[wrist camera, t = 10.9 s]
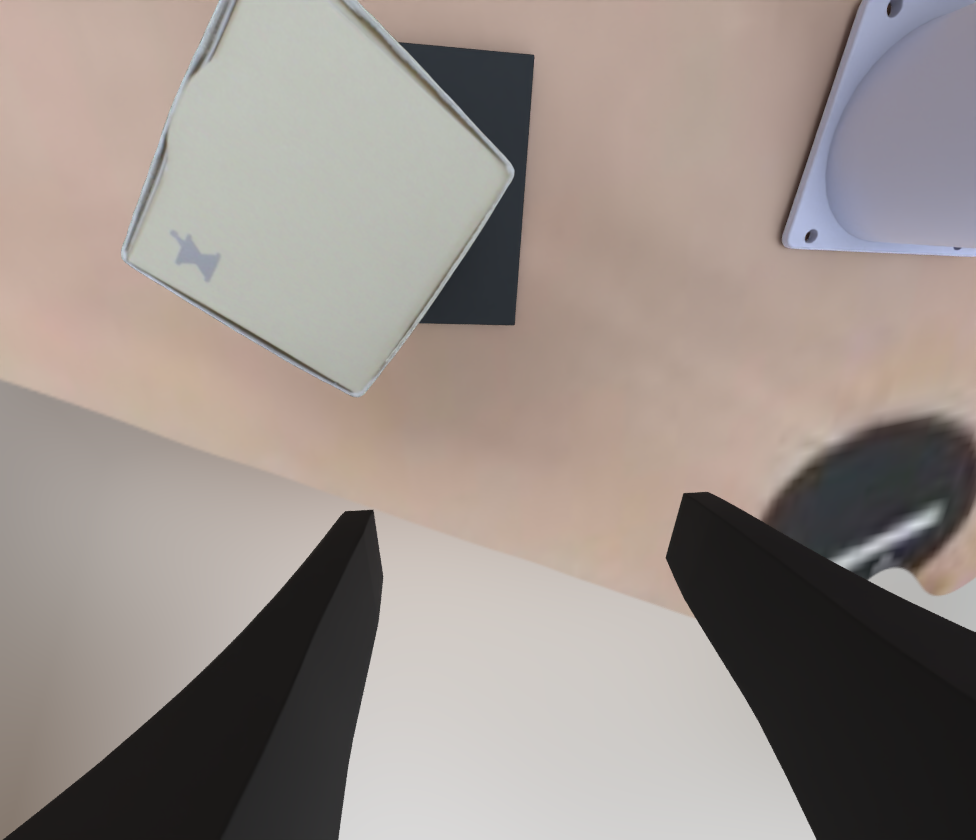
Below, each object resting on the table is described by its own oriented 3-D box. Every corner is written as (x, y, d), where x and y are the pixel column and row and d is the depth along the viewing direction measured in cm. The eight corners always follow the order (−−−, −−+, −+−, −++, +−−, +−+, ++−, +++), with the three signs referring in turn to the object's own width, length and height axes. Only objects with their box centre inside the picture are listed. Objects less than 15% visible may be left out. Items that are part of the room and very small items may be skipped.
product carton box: (401, 308, 17) (352, 416, 8) (300, 235, 15) (96, 265, 6) (479, 195, 15) (531, 169, 6) (376, 102, 14) (249, -113, 5)
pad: (532, 57, 14) (534, 54, 13) (513, 323, 18) (514, 325, 17) (217, 28, 13) (213, 24, 12) (273, 318, 17) (270, 319, 16)
